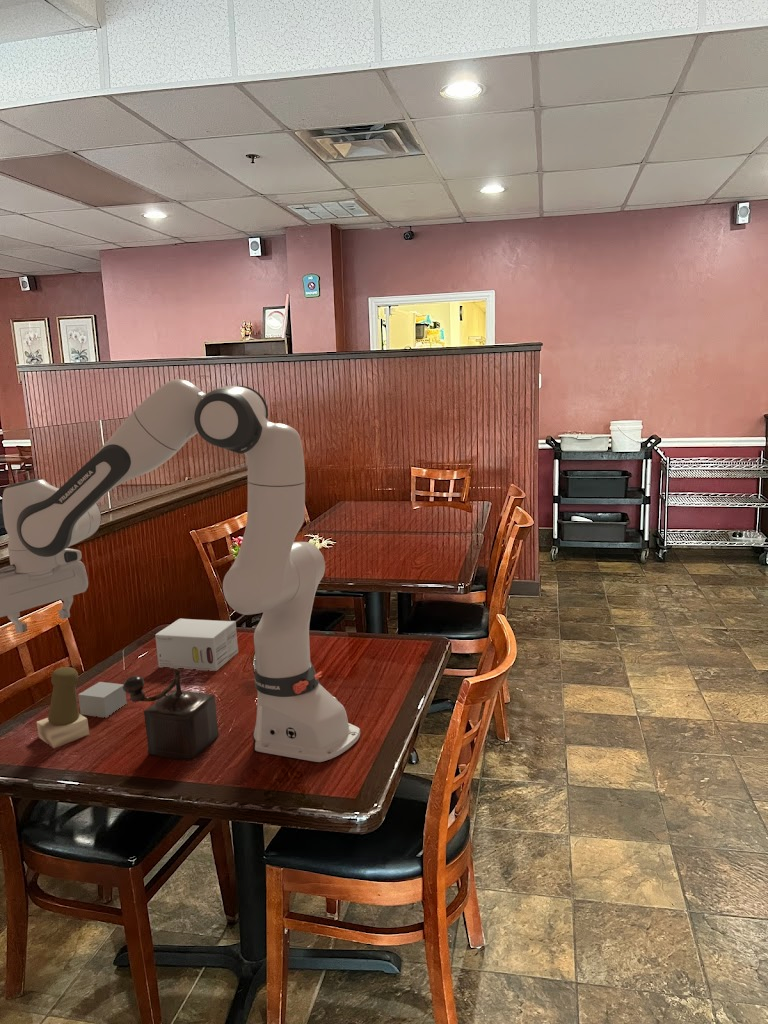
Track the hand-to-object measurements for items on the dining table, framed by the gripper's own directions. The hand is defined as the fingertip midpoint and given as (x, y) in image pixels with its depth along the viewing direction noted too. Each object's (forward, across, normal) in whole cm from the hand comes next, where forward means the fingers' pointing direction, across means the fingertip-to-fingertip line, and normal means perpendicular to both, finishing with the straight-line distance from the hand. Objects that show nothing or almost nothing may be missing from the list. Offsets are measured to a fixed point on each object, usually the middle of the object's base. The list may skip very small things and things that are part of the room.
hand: (43, 624), depth 147 cm
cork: (+21, +1, 0) cm, 21 cm away
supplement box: (+25, +44, +6) cm, 51 cm away
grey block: (+25, +13, +3) cm, 28 cm away
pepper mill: (+25, +8, -27) cm, 38 cm away
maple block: (+25, +1, 0) cm, 25 cm away
